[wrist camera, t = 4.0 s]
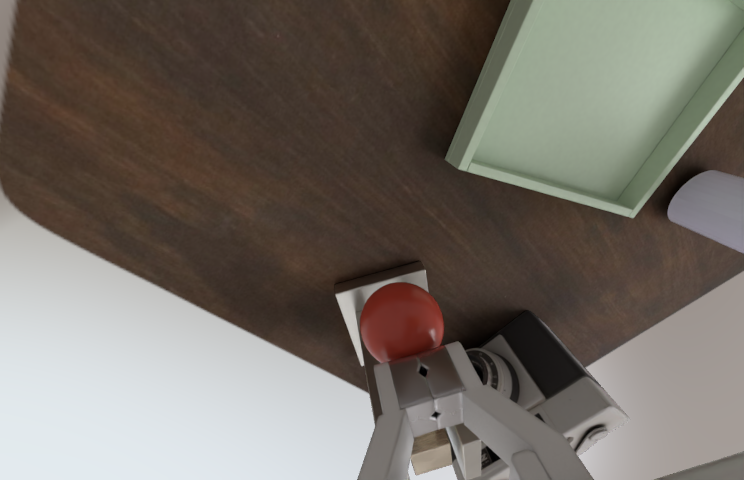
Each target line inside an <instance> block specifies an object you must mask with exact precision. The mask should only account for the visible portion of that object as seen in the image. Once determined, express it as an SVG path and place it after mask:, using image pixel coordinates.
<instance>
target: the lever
mask: <svg viewBox="0 0 744 480" xmlns="http://www.w3.org/2000/svg"><path fill="white" fill-rule="evenodd" d="M360 333H361V337H362V340H363V342H364V345H365V347H366V348H367V350H368V351H369V353H370V354H371V355H372V356H373V357H374V358H375V359H376V360H378V361H379V362H380V363H384V362H387V361H388V362H389V361H392V360H395V359H399V358H403V357H406V356H410V355H414V354H416V353H419V352H422V351H426V350H429V349H432V348H435V347H439V346H440V344H441V342H442V338H443V334H444V320H443V315H442V312H441V310H440V307H439V305H438V303H437V302H436V300H435V299H434V298H433V297H432V295H431V294H430V293H428V292H427V291H426V290H424V289H423V288H421V287H419V286H417V285H415V284H411V283H407V282H395V283H390V284H387V285H384V286H382V287H381V288H379V289H377V290H376V291H375V292H374V293H373V294H372V295H371V296H370V297H369V298H368V300H367V301H366V303H365V305H364V307H363V309H362V312H361V316H360ZM389 366H390V365H389ZM411 462H412V465H413V468H414V471H415V474H416V475H419V474H423V473H426V472H429V471H432V470H436V469H439V468H442V467H446V466H449V465H452V454H451V445H450V441H449V438H448V435H447V432H446V430H445V428H443V429H439V430H436V431H433V432H430V433H427V434H424V435H421V436H418V437H414V442H413V447H412V452H411Z"/></svg>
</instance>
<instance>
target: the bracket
mask: <svg viewBox="0 0 744 480" xmlns="http://www.w3.org/2000/svg"><path fill="white" fill-rule="evenodd" d="M395 282H407V283H411V284H415V285H417V286H419V287H421V288H423V289H424V290H426V291H427V292H428V285H427V277H426V270H425V268H424V266H423V264H422V262H421V261H418V262H415V263H411V264H407V265H404V266H400V267H397V268H393V269H389V270H386V271H382V272H378V273H375V274H371V275H367V276H364V277H360V278H356V279H353V280H349V281H345V282H342V283H338V284H335V285H334V290H335V296H336V299H337V301H338V304H339V307H340V310H341V312H342V315H343V318H344V321H345V323H346V326H347V329H348V332H349V334H350V337H351V340H352V342H353V345H354V348H355V351H356V353H357V356H358V359H359V362H360V364H361V366H365V372H366V377H367V383H368V389H369V394H370V399H371V406H372V411H373V416H374V423H375V426H376V423H377V420H378V417H379V416H381V415H383V412H382V407H381V402H380V397H379V392H378V387H377V382H376V377H375V372H374V365H377V364H380V362H379V361H378V360H376V359H375V358H374V357H373V356H372V355H371V354H370V353H369V351H368V350H367V348H366V347H365V345H364V342H363V340H362V337H361V333H360V316H361V312H362V309H363V307H364V305H365V303H366V301H367V300H368V298H369V297H370V296H371V295H372V294H373V293H374V292H375V291H376V290H377V289H379V288H381V287H382V286H384V285H387V284H390V283H395ZM428 293H429V292H428ZM446 430H447V433H448V436H449V438H450V441H451V444H452V447H453V449H454V452H455V455H456V458H457V460H458V463H459V466H460V468H461V471H462V474H463V477H464V479H465V480H469V479H473V478H476V477H479V476H481V440H480V439H479V438H478V437H477V436H476V435H475V434H474V433H473V432H472V431H471V430H470V429H469V428H467V427H466V426H465V425H464V423H461V424H457V425H454V426H450V427H446ZM406 480H410V479H409V474H408V473H407V478H406Z"/></svg>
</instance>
